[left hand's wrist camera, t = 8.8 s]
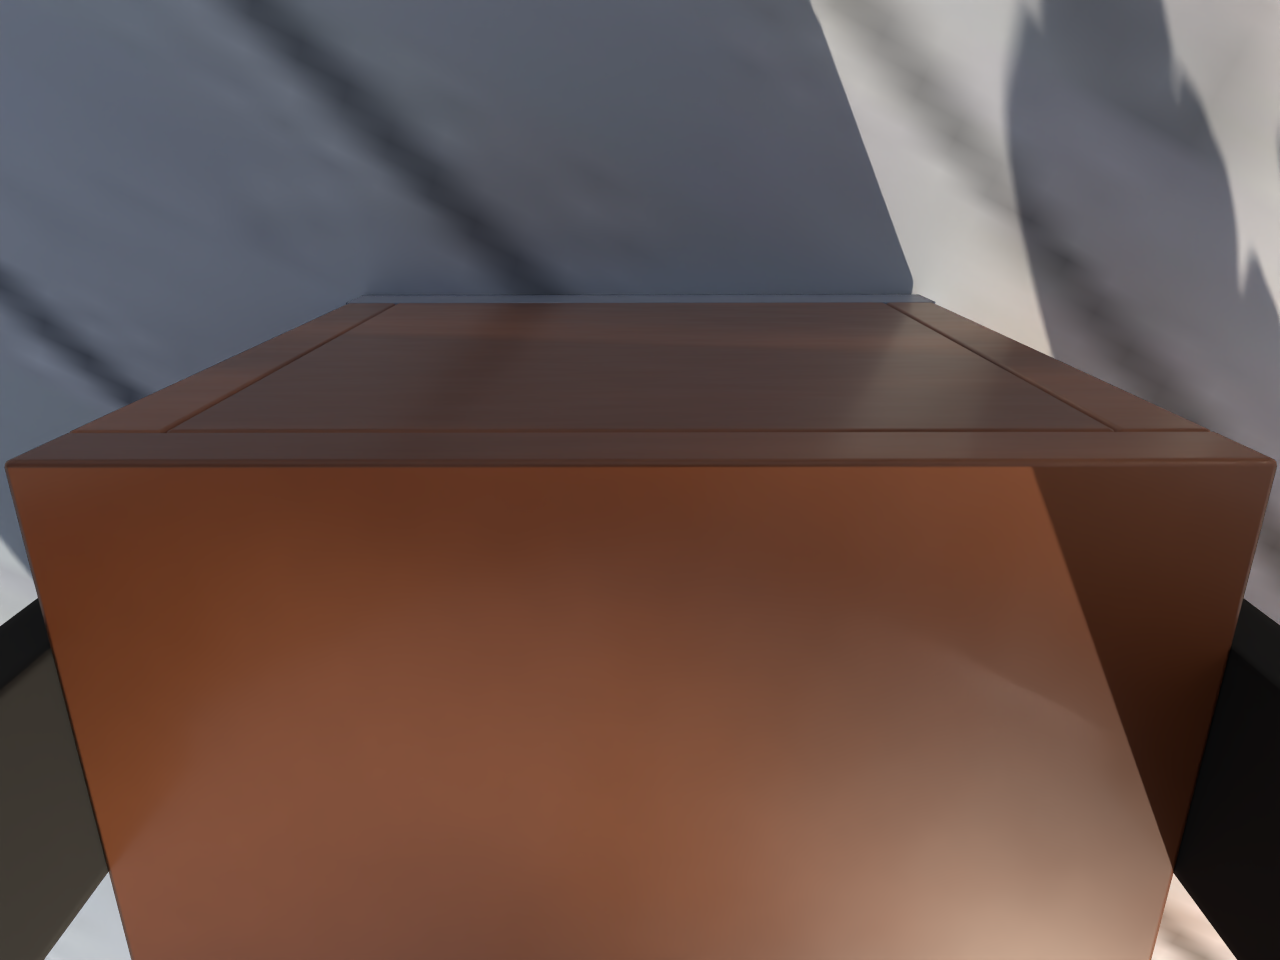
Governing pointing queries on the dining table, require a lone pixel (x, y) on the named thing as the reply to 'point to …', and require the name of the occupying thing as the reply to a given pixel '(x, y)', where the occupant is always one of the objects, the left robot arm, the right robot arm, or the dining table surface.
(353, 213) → the dining table surface
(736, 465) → the cabinet
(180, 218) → the dining table surface
